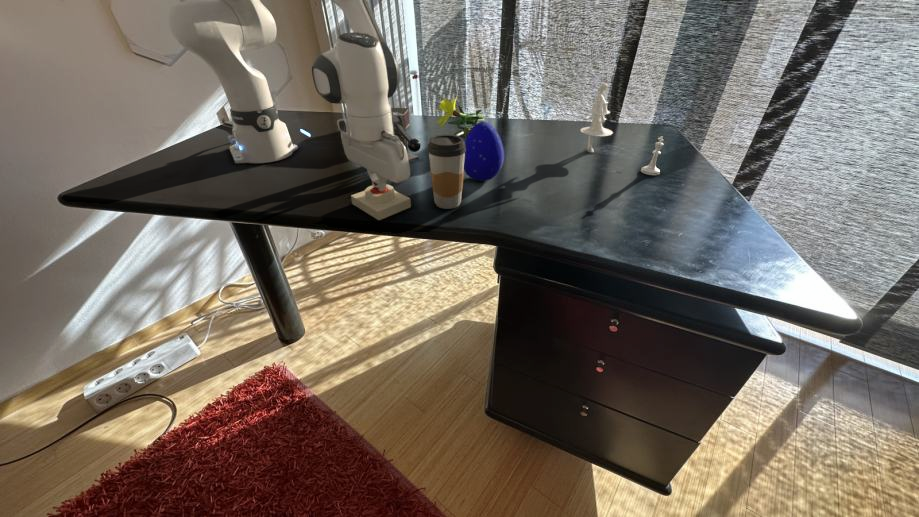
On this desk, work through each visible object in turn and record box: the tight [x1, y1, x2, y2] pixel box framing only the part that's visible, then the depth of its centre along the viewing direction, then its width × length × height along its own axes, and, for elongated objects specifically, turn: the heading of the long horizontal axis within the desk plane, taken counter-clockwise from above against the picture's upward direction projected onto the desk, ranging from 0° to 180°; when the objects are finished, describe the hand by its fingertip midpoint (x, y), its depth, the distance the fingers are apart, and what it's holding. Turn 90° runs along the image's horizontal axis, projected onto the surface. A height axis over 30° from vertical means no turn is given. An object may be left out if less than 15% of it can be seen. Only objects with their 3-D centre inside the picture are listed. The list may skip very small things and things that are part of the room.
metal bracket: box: [392, 112, 420, 164], centre depth 105 cm, size 11×8×13 cm
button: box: [371, 187, 387, 194], centre depth 82 cm, size 4×4×2 cm
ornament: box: [464, 121, 506, 182], centre depth 92 cm, size 11×9×15 cm
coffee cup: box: [427, 134, 466, 210], centre depth 81 cm, size 8×8×15 cm
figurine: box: [580, 82, 614, 154], centre depth 109 cm, size 13×10×20 cm
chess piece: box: [640, 135, 665, 176], centre depth 98 cm, size 5×5×10 cm
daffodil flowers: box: [435, 86, 490, 140], centre depth 116 cm, size 17×15×35 cm
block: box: [350, 183, 412, 221], centre depth 83 cm, size 11×9×4 cm
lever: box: [392, 114, 422, 153], centre depth 101 cm, size 13×4×4 cm, turn 45°
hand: (379, 188), depth 82 cm, fingers closed, pressing on button
